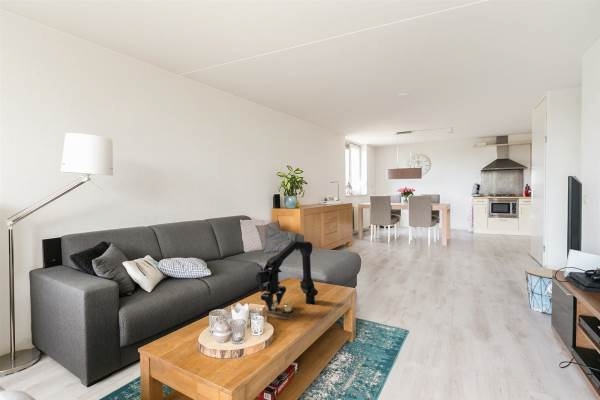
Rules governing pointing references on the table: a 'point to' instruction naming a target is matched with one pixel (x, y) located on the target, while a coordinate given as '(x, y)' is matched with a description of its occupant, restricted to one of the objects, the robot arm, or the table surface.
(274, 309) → the cylinder
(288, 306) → the cylinder
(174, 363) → the table surface
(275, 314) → the brown compartment tray
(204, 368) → the table surface
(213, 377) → the table surface
